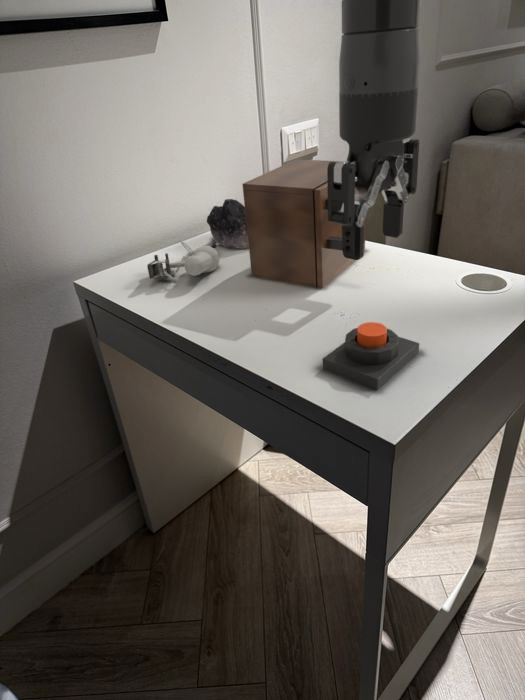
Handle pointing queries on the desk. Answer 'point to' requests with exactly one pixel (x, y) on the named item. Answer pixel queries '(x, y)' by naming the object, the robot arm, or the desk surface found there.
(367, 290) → the desk surface
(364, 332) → the release button
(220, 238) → the crystal cluster
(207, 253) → the clip-on lamp
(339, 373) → the button box
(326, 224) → the cabinet door
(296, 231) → the cabinet
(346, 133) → the robot arm
